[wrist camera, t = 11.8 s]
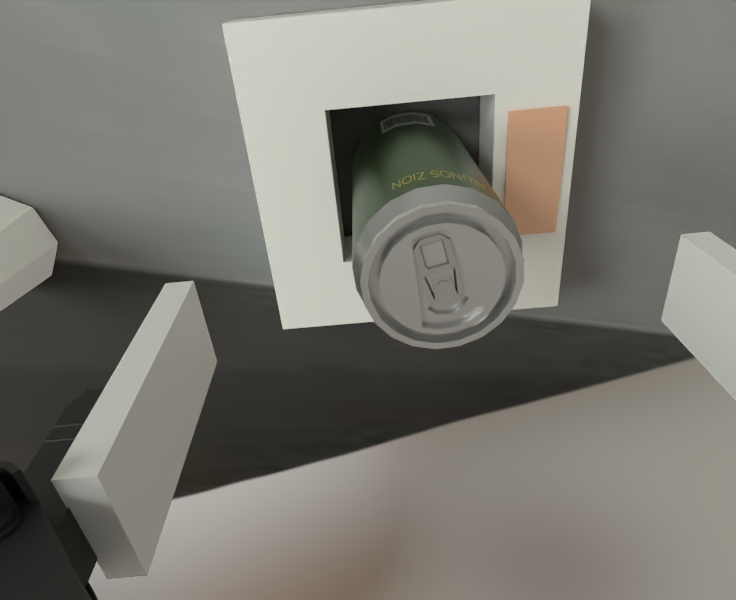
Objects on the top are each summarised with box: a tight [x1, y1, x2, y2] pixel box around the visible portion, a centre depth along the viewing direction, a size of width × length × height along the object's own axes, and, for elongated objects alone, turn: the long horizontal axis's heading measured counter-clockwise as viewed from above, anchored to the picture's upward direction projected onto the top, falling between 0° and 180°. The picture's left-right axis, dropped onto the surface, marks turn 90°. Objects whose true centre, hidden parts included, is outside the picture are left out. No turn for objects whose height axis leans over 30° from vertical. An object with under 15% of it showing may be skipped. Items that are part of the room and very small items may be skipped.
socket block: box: [222, 0, 591, 329], centre depth 25 cm, size 14×14×3 cm
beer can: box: [352, 111, 524, 349], centre depth 21 cm, size 5×5×12 cm
